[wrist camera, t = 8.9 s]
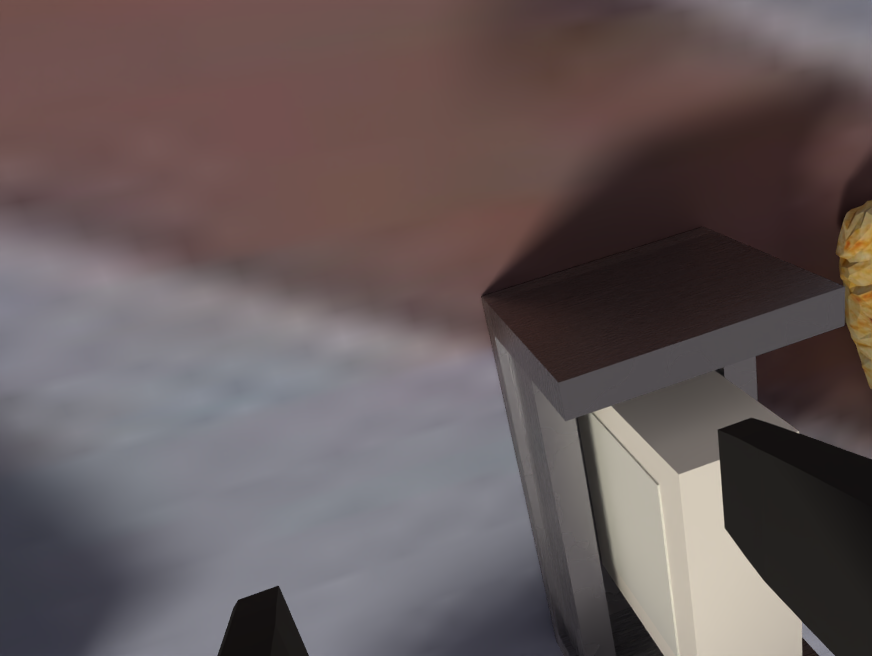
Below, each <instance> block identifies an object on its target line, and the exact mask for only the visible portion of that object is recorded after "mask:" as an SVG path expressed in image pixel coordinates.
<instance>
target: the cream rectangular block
mask: <svg viewBox="0 0 872 656" xmlns="http://www.w3.org/2000/svg"><path fill="white" fill-rule="evenodd" d="M749 418H755V419H758V420H761V421H765V422H768V423H771V424H774V425H777V426H779V427H782V428H785V429H788V430H791V431H794V432H796V433H799V431H798V430H797V429H796V428H794V427H793V426H791V425H790V424H789V423H787V422H786V421H784V420H783V419H782V418H780V417H779V416H777V415H776V414H775V413H773V412H772V411H770V410H769V409H768V408H766V407H765V406H763V405H762V404H761V403H759V402H758V401H757V400H755V399H754V398H752V397H751V396H750V395H748V394H747V393H745V392H744V391H743V390H741V389H740V388H738V387H737V386H736V385H734V384H733V383H731V382H730V381H729V380H727V379H726V378H724V377H723V376H722V375H720V374H719V373H717V372H716V371H715V370H714V371H711V372H708V373H705V374H702V375H700V376H697V377H694V378H691V379H688V380H685V381H682V382H679V383H676V384H673V385H670V386H668V387H665V388H662V389H659V390H656V391H653V392H650V393H647V394H644V395H641V396H638V397H636V398H633V399H630V400H627V401H624V402H621V403H618V404H615V405H612V406H609V407H606V408H603V409H601V410H598V411H595V412H592V413H589V414H586V415H583V416H580V417H578V423H579V429H580V435H581V441H582V447H583V452H584V458H585V464H586V470H587V476H588V482H589V488H590V494H591V500H592V506H593V511H594V517H595V523H596V529H597V535H598V541H599V547H600V553H601V559H602V564H603V566H604V567H605V569H606V570H607V572H608V573H609V575H610V576H611V578H612V579H613V581H614V582H615V584H616V585H617V587H618V588H619V590H620V591H621V593H622V594H623V596H624V597H625V598H626V600H627V601H628V603H629V604H630V606H631V607H632V609H633V610H634V612H635V613H636V615H637V616H638V618H639V619H640V621H641V622H642V624H643V625H644V627H645V628H646V630H647V631H648V633H649V634H650V636H651V637H652V639H653V640H654V642H655V643H656V645H657V646H658V647H659V649H660V650H661V652H662V653H663V655H664V656H802V621H801V620H800V619H799V618H798V617H797V616H796V614H795V613H794V612H793V611H792V610H791V609H790V608H789V607H788V606H787V605H786V604H785V603H784V602H783V601H782V600H781V599H780V598H779V597H778V596H777V594H776V593H775V592H774V591H773V590H772V589H771V588H770V587H769V586H768V585H767V584H766V583H765V582H764V580H763V579H762V578H761V576H760V575H759V574H758V573H757V571H756V570H755V569H754V567H753V566H752V565H751V563H750V562H749V561H748V560H747V558H746V557H745V556H744V554H743V553H742V551H741V550H740V549H739V547H738V546H737V545H736V543H735V542H734V540H733V539H732V538H731V536H730V535H729V533H728V532H727V531H726V529H725V527H724V513H723V499H722V485H721V471H720V457H719V443H718V429H721V428H723V427H726V426H729V425H732V424H735V423H738V422H740V421H743V420H746V419H749Z"/></svg>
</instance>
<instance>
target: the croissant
mask: <svg viewBox="0 0 872 656" xmlns="http://www.w3.org/2000/svg"><path fill="white" fill-rule="evenodd" d="M836 254H837V255H838V256H839V257H840V260H839V271H840V278H841V279H842V280H843V286H845V317H846V324H847V326H848V329H849V331H850V334H851V338H852V340H853V341H854V343H855V344H856V346H857V350H858V353H859V356H860V360H861V363H862V368H863V370H864V372H865V375H866V378H867V381H868V384H869V387H870V388H871V389H872V200H871V201H867V202H866V203H865V204H864V205H862V206H860V207H857V208H854V209H851V210H850V211H849V212H847V213H846V216H845V218H844V221H843V224H842V228H841V231H840V234H839V237H838V243H837V248H836Z"/></svg>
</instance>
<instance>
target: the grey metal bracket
mask: <svg viewBox="0 0 872 656" xmlns="http://www.w3.org/2000/svg"><path fill="white" fill-rule="evenodd" d="M481 298H482V303H483V307H484V312H485V316H486V321H487V326H488V330H489V335H490V339H491V344H492V348H493V353H494V358H495V362H496V367H497V371H498V376H499V380H500V385H501V390H502V394H503V399H504V403H505V408H506V412H507V417H508V422H509V426H510V431H511V435H512V440H513V444H514V449H515V454H516V458H517V463H518V467H519V472H520V476H521V481H522V486H523V490H524V495H525V499H526V504H527V508H528V513H529V518H530V522H531V527H532V531H533V536H534V541H535V545H536V550H537V554H538V559H539V563H540V568H541V573H542V577H543V582H544V586H545V591H546V595H547V600H548V605H549V609H550V614H551V618H552V623H553V627H554V632H555V637H556V641H557V643H558V645H559V647H560V649H561V651H562V653H563V655H564V656H664V655H663V653H662V652H661V650H660V649H659V647H658V646H657V645H656V643H655V642H654V640H653V639H652V637H651V636H650V634H649V633H648V631H647V630H646V628H645V627H644V625H643V624H642V622H641V621H640V619H639V618H638V616H637V615H636V613H635V612H634V610H633V609H632V607H631V606H630V604H629V603H628V601H627V600H626V598H625V597H624V596H623V594H622V593H621V591H620V590H619V588H618V587H617V585H616V584H615V582H614V581H613V579H612V578H611V576H610V575H609V573H608V572H607V570H606V569H605V567H604V566H603V564H602V559H601V553H600V547H599V541H598V535H597V529H596V523H595V517H594V511H593V506H592V500H591V494H590V488H589V482H588V476H587V470H586V464H585V458H584V452H583V447H582V441H581V435H580V429H579V423H578V417H580V416H583V415H586V414H589V413H592V412H595V411H598V410H601V409H603V408H606V407H609V406H612V405H615V404H618V403H621V402H624V401H627V400H630V399H633V398H636V397H638V396H641V395H644V394H647V393H650V392H653V391H656V390H659V389H662V388H665V387H668V386H670V385H673V384H676V383H679V382H682V381H685V380H688V379H691V378H694V377H697V376H700V375H702V374H705V373H708V372H711V371H714V370H715V371H716V372H717V373H719V374H720V375H722V376H723V377H724V378H726V379H727V380H729V381H730V382H731V383H733V384H734V385H736V386H737V387H738V388H740V389H741V390H743V391H744V392H745V393H747V394H748V395H750V396H751V397H752V398H754V399H755V400H757V401H758V399H757V376H756V356H758V355H761V354H764V353H766V352H769V351H772V350H775V349H778V348H781V347H784V346H787V345H790V344H793V343H796V342H799V341H801V340H804V339H807V338H810V337H813V336H816V335H819V334H822V333H825V332H828V331H831V330H833V329H836V328H839V327H842V326H845V286H843V285H840V284H838V283H835V282H833V281H831V280H828V279H826V278H824V277H821V276H819V275H816V274H814V273H812V272H809V271H807V270H805V269H802V268H800V267H798V266H795V265H793V264H790V263H788V262H786V261H783V260H781V259H779V258H776V257H774V256H771V255H769V254H767V253H764V252H762V251H760V250H757V249H755V248H752V247H750V246H748V245H745V244H743V243H741V242H738V241H736V240H734V239H731V238H729V237H726V236H724V235H722V234H719V233H717V232H715V231H712V230H710V229H707V228H705V227H701V228H698V229H694V230H691V231H688V232H685V233H682V234H678V235H675V236H672V237H669V238H666V239H663V240H659V241H656V242H653V243H650V244H647V245H643V246H640V247H637V248H634V249H631V250H628V251H624V252H621V253H618V254H615V255H612V256H608V257H605V258H602V259H599V260H596V261H593V262H589V263H586V264H583V265H580V266H577V267H573V268H570V269H567V270H564V271H561V272H558V273H554V274H551V275H548V276H545V277H542V278H538V279H535V280H532V281H529V282H526V283H523V284H519V285H516V286H513V287H510V288H507V289H503V290H500V291H497V292H494V293H491V294H488V295H484V296H481ZM802 656H819V655H818V654H817V653H816V652H815V651H814V650H813V649H812V648H811V646H810V645H809V644H808V643H807V642H806V641H805V640H804V639H803V638H802Z"/></svg>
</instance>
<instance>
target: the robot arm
mask: <svg viewBox="0 0 872 656" xmlns="http://www.w3.org/2000/svg"><path fill="white" fill-rule="evenodd" d="M718 443H719V457H720V471H721V485H722V499H723V513H724V527H725V529H726V531H727V532H728V533H729V535H730V536H731V538H732V539H733V540H734V542H735V543H736V545H737V546H738V547H739V549H740V550H741V551H742V553H743V554H744V556H745V557H746V558H747V560H748V561H749V562H750V563H751V565H752V566H753V567H754V569H755V570H756V571H757V573H758V574H759V575H760V576H761V578H762V579H763V580H764V582H765V583H766V584H767V585H768V586H769V587H770V588H771V589H772V590H773V591H774V592H775V593H776V594H777V596H778V597H779V598H780V599H781V600H782V601H783V602H784V603H785V604H786V605H787V606H788V607H789V608H790V609H791V610H792V611H793V612H794V613H795V614H796V616H797V617H798V618H799V619H800V620H801V621H802V622H803V623H804V624H805V625H806V626H807V627H808V628H809V629H810V630H811V631H812V632H813V633H814V634H815V635H816V636H817V637H818V638H819V639H820V641H821V642H822V643H823V644H824V645H825V646H826V647H827V648H828V649H829V650H830V651H831V652H832V653H833V654H834V655H835V656H872V459H869V458H866V457H863V456H860V455H857V454H855V453H852V452H849V451H846V450H843V449H841V448H838V447H835V446H832V445H830V444H827V443H824V442H821V441H819V440H816V439H813V438H810V437H808V436H805V435H802V434H799V433H796V432H794V431H791V430H788V429H785V428H782V427H779V426H777V425H774V424H771V423H768V422H765V421H761V420H758V419H755V418H749V419H746V420H743V421H740V422H738V423H735V424H732V425H729V426H726V427H723V428H721V429H718ZM217 656H309V655H308V653H307V650H306V648H305V646H304V643H303V641H302V639H301V636H300V634H299V632H298V629H297V627H296V625H295V622H294V620H293V618H292V615H291V613H290V611H289V609H288V606H287V604H286V602H285V599H284V597H283V595H282V592H281V590H280V588H279V586H276V587H273V588H271V589H268V590H265V591H262V592H259V593H257V594H254V595H251V596H248V597H245V598H242V599H240V600H238V601H237V603H236V605H235V606H234V608H233V611H232V614H231V617H230V620H229V623H228V626H227V629H226V632H225V635H224V638H223V641H222V644H221V647H220V650H219V653H218V655H217Z"/></svg>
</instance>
